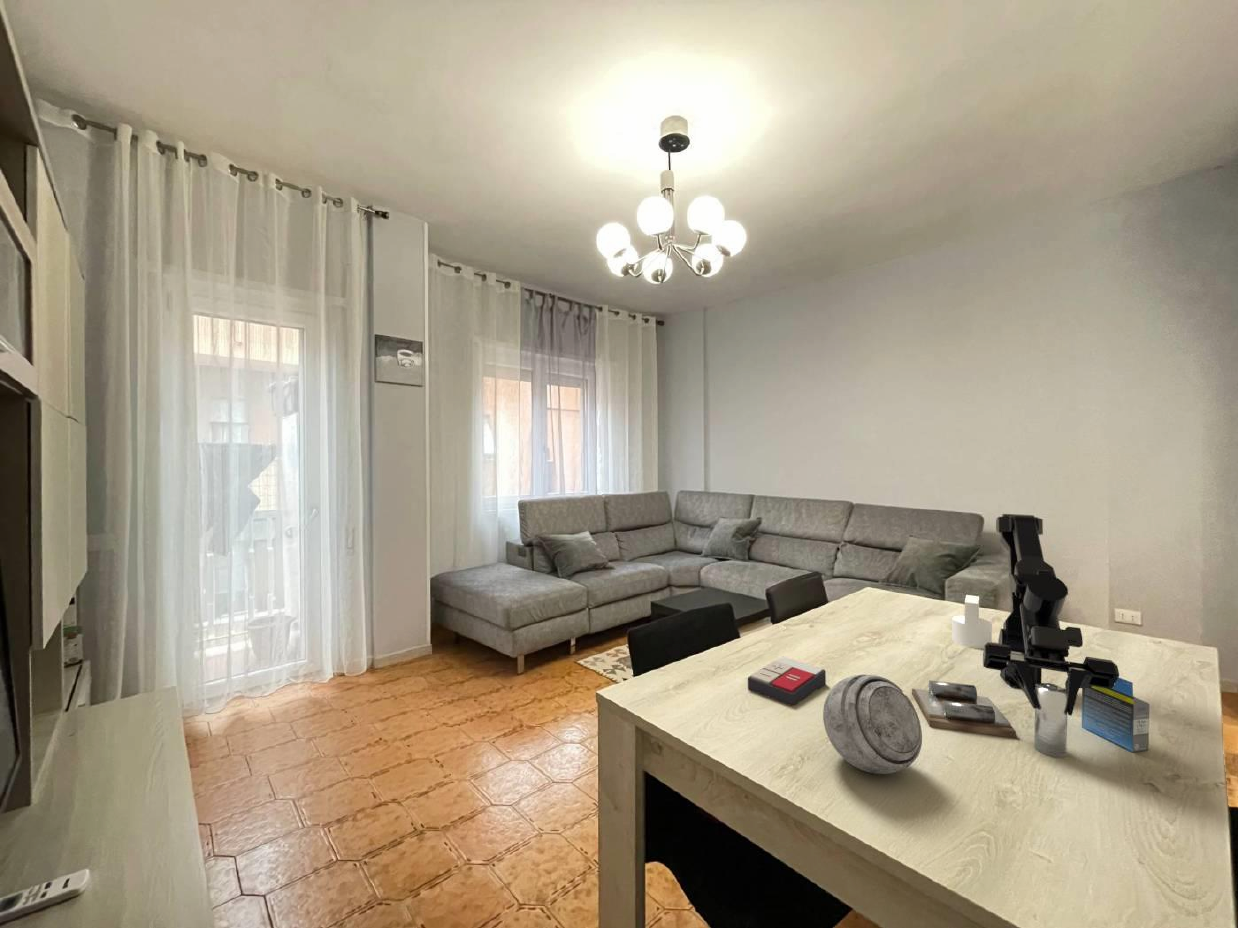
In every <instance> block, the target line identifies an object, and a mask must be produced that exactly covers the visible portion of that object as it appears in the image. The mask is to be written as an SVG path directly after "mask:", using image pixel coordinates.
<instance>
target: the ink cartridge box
mask: <svg viewBox="0 0 1238 928" xmlns="http://www.w3.org/2000/svg"><path fill="white" fill-rule="evenodd" d="M1082 664H1083V663H1082ZM1133 688H1134V684H1133V682H1132V681H1128V680H1126V679H1125V678H1124V679H1123V678H1121V677H1120V676H1119V677H1118V679H1117V680H1116V682H1115V684H1114V686H1113V688H1102V687H1096V686H1090V685H1088V687H1087V688H1085V689H1083V688H1081V728H1082V729H1085V730H1087V731H1089V732H1090V733H1093V734H1095V735H1097V736H1098V737H1101V738H1103V739H1106V740H1108V741H1110V742H1112V743H1114V744H1116V745H1118V746H1119V747H1122V748H1124V749H1125V750H1127V751H1128V752H1131V753H1138V752H1145V751H1149V745H1150V744H1149V742H1150V737H1149V736H1150V703H1148V702H1146V701H1144V700H1142V699H1140V698H1137V697H1135V696H1134V690H1133Z"/></svg>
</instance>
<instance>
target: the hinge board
mask: <svg viewBox="0 0 1238 928" xmlns="http://www.w3.org/2000/svg"><path fill="white" fill-rule="evenodd" d="M915 689H916V688H911V695H912V697H913V699H914V700H915V703H916V705H917V706H918V708H919V709H920V712H921V714H922V715H923V717H924V718H925V721H926V722H927V724H928V726H929V727H931V728H939V729H946V730H954V731H961V732H962V731H963V732H968V733H978V734H983V735H992V736H1000V737H1005V738H1014V739H1016V737H1017V731H1016V730H1015V728H1014V727H1013V726H1012V725H1011V727H1006V726H998V725H991V724H990V723H984V722H976V721H968V720H960V719H952V718H948V719H944V718H936V717H929V715H928V713H927V712H926V710H925V708H924V706H923V705H922V703H921V701H920V699H919V697H918V696H917V694H916V692H915ZM927 690H928V691H929V689H927ZM980 697H982V696H980ZM936 698H937V699H938V701H939V702H940V704H941V705H942V701H951V702H959V703H968V704H974V702H973V701H971V700H963V699H954V698H946V697H937V696H936Z"/></svg>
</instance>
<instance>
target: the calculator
mask: <svg viewBox="0 0 1238 928" xmlns="http://www.w3.org/2000/svg"><path fill="white" fill-rule="evenodd" d="M826 674H827V673H826V669H823V668H821V667H820V666H815V665H812V664H809V663H806V662H803V661H799V660H797V659H793V658H790V657H786V656H784V655H783V656H781V657H779V658H777V659H776V660H774V661H772V662H770V663H768V664H767V665H765V666H763V667H762V668H760V669H759V670H757V671H755V672H752V674H750V676H748V677H747V689H748V690H750V691H752V692H754V693H756V694H760V695H761V696H764V697H767V698H770V699H772V700H776V701H778V702H780V703H783V704H786V705H788V706H791V707H794V706H796V705H797V704H799V703H800V702H802V701H803V700H805V699H806V698H808V697H809V696H811V695H812V694H813V693H815V692H816V691H818V690H820V689H822V688H823V687H824V686H826V684H827V682H826V681H827V679H826V678H827V676H826Z"/></svg>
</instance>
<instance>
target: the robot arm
mask: <svg viewBox="0 0 1238 928" xmlns="http://www.w3.org/2000/svg"><path fill="white" fill-rule="evenodd" d="M1043 523H1044V521H1043V518H1040V517H1039V518H1038V517H1037V516H1035V515H1033V514H1014V513H1013V514H1011V513H1002V515H1001V516H998V517H997V518H996V519H995V531H996V533H997V534H999V542H1000V543H1001V544H1002V545H1003V547H1004V548H1005V549H1006V550H1007V554H1008V575H1009V576H1008V577H1009V578H1008V579H1009V593H1010V594H1009V599H1010V614H1009V615H1008V616H1007V617H1006V619H1005V620H1004V622H1003V624H1002V628H1000V629H999V636H998V639H997V640H998V643H996V642H992V643H990V642H988V643H986V644H985V645H984V649H983V652H982V666H983V668H986V669H989V670H996V671H999V676H1000V677H1001V678H1002V679H1003V680H1004V681H1005V682H1006V683H1007V685H1008V686H1010V687H1011V688H1019V689H1021V690H1022V691H1023V693H1024V695H1025V697H1026V699H1027V700H1028V701H1029V703H1030V705H1031V707H1032V709H1034V710H1035V709H1036V708H1037V700H1036V695H1035V684H1037V683H1042V676H1043V675H1042V671H1043V669H1044V670H1049V671H1055V672H1060V673H1066V675H1067V678H1066V680H1065V683H1064V685H1065V687H1064V689H1065V690H1067V691H1068V709H1067V716H1072V715H1073V712H1074V709H1075V704H1076V701H1077V696H1078V693H1079V690H1080V689H1082V688H1083V689H1085V688H1087V687H1088V685H1090V686H1096V687H1102V688H1113V686H1114V685H1115V682H1116V680H1117V679H1118V677H1119V678H1120V671H1119V668H1118V665H1117V664H1116V663H1115V662H1114V661H1113V660H1111V659H1104V658H1097V657H1090V656H1085V658H1084V660H1083V664H1082V663H1080V662H1074V661H1067V660H1066V658H1068V657H1069V655H1070V653H1069V650H1070V647H1072V648H1081V647H1082V646H1083V643H1084V641H1083V634H1082V631H1081V627H1074V626H1066V627H1065V629H1062V628H1061V626H1060V619H1059V615H1060V614H1061V613H1062V610H1063V606H1064V604H1065V601H1066V598H1067V596H1068V595H1069V589H1068V586H1067V585H1066V584H1065V583H1064V582H1063V581H1062V580H1061V579H1059V577H1057V576H1056V572H1055V570H1054V567H1053V566H1052V565H1050V564H1049V563H1047V561H1045V558H1044V555H1043V554H1044V553H1043V550H1042V545H1041V541H1040V536H1042V535H1044V534H1043V533H1044V527H1043V525H1044V524H1043Z"/></svg>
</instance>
